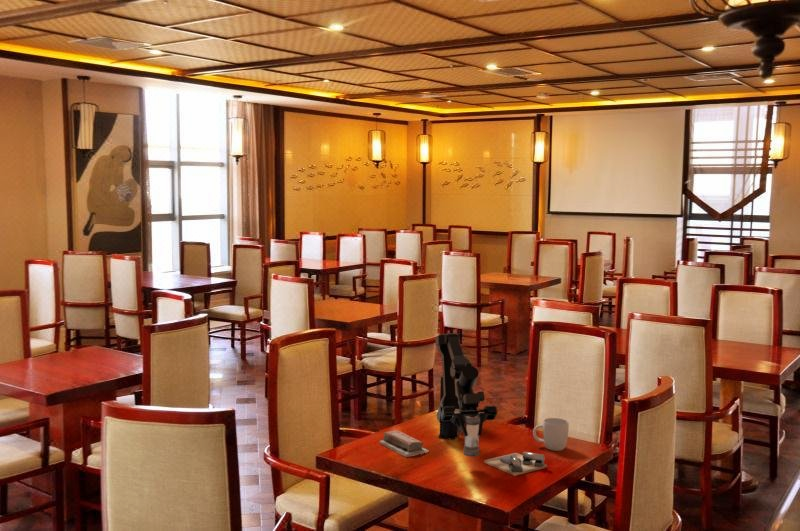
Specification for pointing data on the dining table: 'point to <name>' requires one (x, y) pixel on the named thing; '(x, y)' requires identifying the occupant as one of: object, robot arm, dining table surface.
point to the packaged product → (402, 443)
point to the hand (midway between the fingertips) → (472, 435)
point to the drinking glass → (472, 435)
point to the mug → (553, 433)
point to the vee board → (503, 465)
